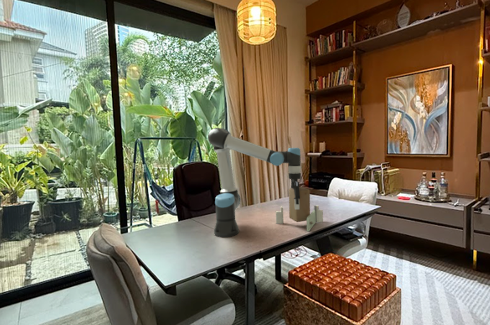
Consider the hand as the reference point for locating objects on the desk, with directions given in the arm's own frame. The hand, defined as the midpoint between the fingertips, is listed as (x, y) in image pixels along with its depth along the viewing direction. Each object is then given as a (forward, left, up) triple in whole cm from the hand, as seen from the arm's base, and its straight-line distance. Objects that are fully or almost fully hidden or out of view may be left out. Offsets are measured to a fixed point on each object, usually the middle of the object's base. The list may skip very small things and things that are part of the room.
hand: (295, 206), depth 167 cm
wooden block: (+3, +1, -9) cm, 9 cm away
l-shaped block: (+4, +8, -13) cm, 16 cm away
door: (+10, -2, -13) cm, 16 cm away
